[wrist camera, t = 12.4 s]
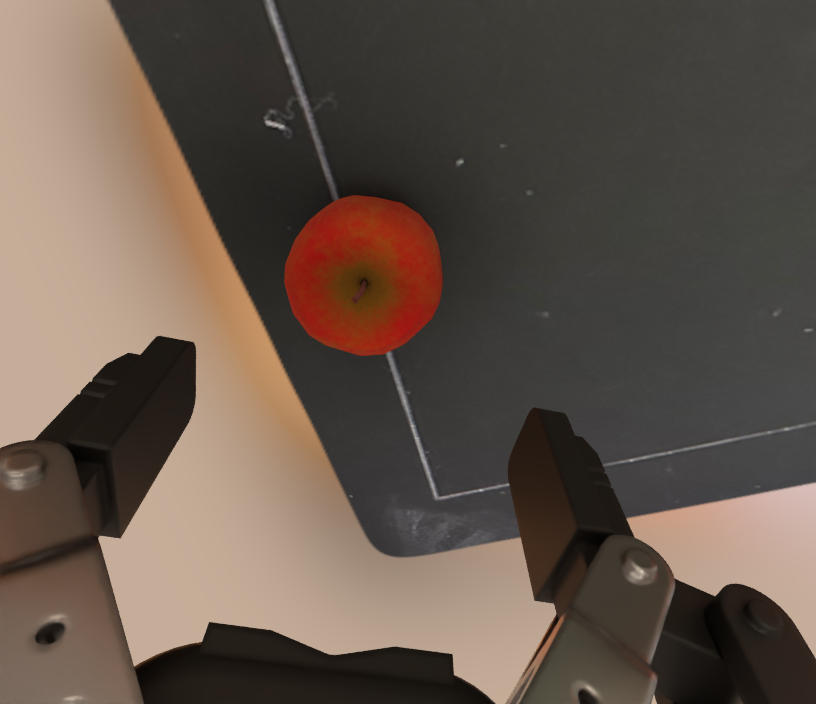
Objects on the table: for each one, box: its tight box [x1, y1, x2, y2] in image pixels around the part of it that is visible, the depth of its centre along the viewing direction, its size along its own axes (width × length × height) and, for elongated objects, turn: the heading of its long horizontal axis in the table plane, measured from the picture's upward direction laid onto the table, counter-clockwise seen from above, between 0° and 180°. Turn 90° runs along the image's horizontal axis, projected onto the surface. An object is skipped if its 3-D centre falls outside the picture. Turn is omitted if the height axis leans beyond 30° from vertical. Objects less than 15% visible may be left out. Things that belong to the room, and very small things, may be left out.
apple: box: [284, 195, 443, 356], centre depth 22 cm, size 6×6×8 cm
